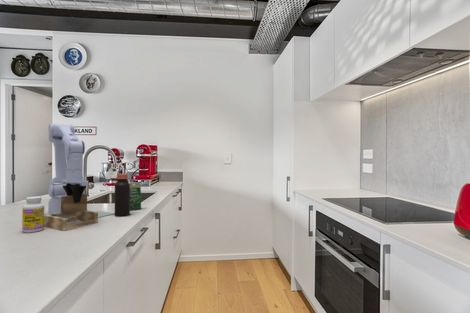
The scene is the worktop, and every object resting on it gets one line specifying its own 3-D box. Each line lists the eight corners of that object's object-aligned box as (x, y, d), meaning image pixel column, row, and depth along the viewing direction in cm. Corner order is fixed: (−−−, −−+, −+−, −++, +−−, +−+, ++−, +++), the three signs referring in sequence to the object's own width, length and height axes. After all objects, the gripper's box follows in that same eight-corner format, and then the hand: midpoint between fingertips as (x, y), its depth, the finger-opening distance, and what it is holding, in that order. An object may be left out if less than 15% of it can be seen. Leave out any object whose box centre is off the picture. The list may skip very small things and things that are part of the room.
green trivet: (76, 216, 122) (76, 215, 122) (99, 211, 133) (99, 210, 133) (92, 219, 117) (92, 218, 117) (115, 214, 128) (115, 213, 128)
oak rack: (38, 225, 107) (38, 214, 107) (72, 217, 119) (72, 208, 119) (64, 231, 99) (64, 219, 99) (97, 222, 112) (97, 212, 112)
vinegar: (124, 217, 121) (124, 174, 121) (111, 216, 123) (111, 174, 123) (132, 213, 128) (132, 173, 128) (120, 213, 129) (120, 173, 129)
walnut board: (60, 213, 104) (61, 196, 104) (82, 209, 112) (82, 193, 112) (65, 214, 103) (65, 196, 103) (86, 210, 111) (87, 194, 111)
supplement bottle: (20, 234, 95) (20, 199, 95) (24, 229, 101) (24, 196, 101) (42, 231, 98) (42, 198, 98) (45, 227, 104) (45, 195, 104)
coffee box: (125, 211, 134) (125, 186, 134) (124, 210, 137) (124, 185, 137) (141, 209, 138) (141, 185, 138) (139, 208, 141) (140, 184, 141)
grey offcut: (50, 219, 108) (50, 213, 108) (65, 215, 115) (65, 210, 115) (57, 220, 107) (57, 214, 107) (72, 216, 114) (72, 211, 114)
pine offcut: (46, 225, 108) (46, 219, 108) (68, 220, 116) (68, 215, 116) (54, 227, 106) (54, 221, 106) (75, 221, 114) (75, 216, 114)
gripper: (94, 169, 108) (94, 202, 108) (73, 168, 114) (73, 199, 114) (78, 170, 101) (78, 204, 101) (56, 169, 108) (56, 201, 108)
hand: (74, 202), depth 107 cm, fingers closed on walnut board, 3 cm apart
